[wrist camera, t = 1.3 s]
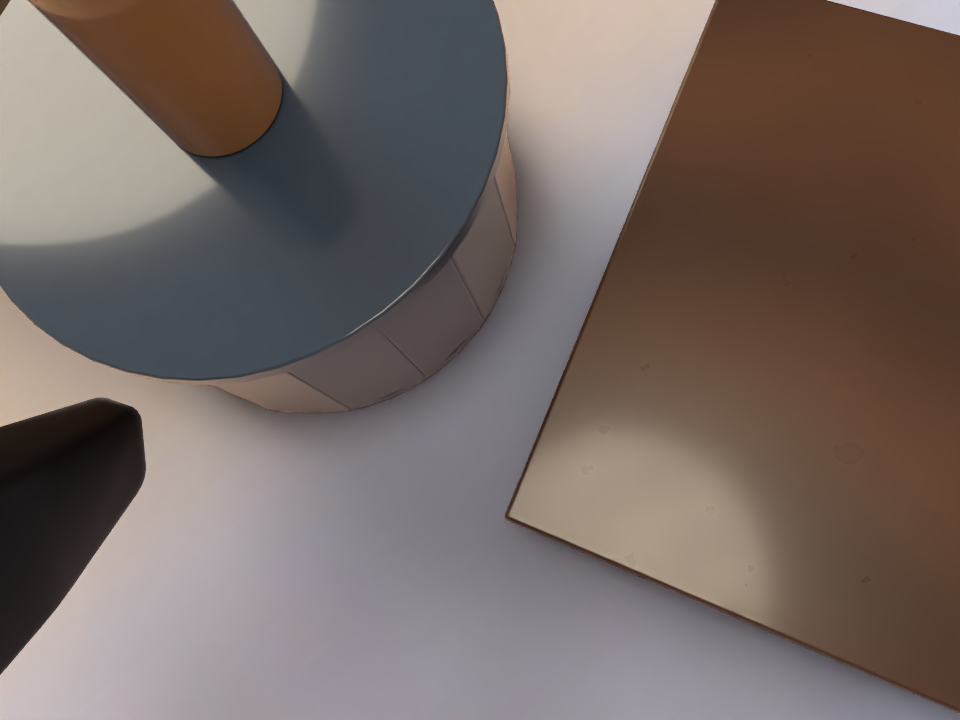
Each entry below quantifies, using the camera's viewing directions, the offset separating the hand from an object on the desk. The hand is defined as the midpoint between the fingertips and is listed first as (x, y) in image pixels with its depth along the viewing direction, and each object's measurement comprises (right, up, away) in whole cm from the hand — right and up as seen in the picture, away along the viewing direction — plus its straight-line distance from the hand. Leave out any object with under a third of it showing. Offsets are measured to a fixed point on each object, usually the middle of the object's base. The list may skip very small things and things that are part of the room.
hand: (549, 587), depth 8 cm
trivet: (+9, +2, +13) cm, 16 cm away
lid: (-6, +7, +10) cm, 14 cm away
